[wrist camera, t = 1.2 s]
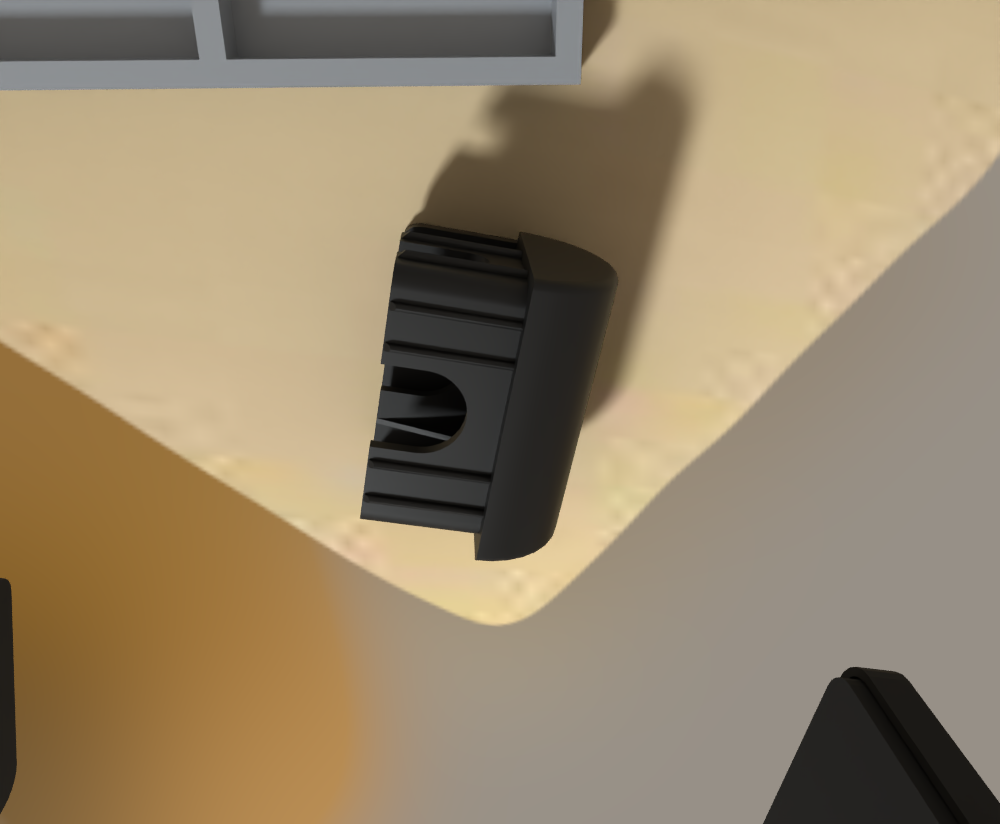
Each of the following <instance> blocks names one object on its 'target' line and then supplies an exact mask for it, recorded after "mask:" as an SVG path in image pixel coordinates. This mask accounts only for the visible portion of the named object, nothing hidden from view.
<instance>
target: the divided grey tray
mask: <svg viewBox="0 0 1000 824" xmlns="http://www.w3.org/2000/svg"><path fill="white" fill-rule="evenodd" d="M582 29H583V0H0V90H78V89H177V88H276V87H376V86H475V85H575V84H581V58H582Z"/></svg>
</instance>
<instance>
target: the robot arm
mask: <svg viewBox="0 0 1000 824" xmlns="http://www.w3.org/2000/svg"><path fill="white" fill-rule="evenodd" d="M16 766H17V759H16V728H15V695H14V663H13V629H12V596H11V585H10V583H9V581H8V580H7V579H4V578H0V813H1V812H2V810H3V808H4V806H5V804H6V802H7V800H8V798H9V795H10V793H11V790H12V787H13V783H14V779H15V775H16ZM763 824H1000V803H999V802H998V800H997V799H996V797H995V796H994V795H993V793H992V792H991V791H990V789H989V788H988V787H987V785H986V784H985V783H984V781H983V780H982V779H981V777H980V776H979V775H978V773H977V772H976V770H975V769H974V768H973V766H972V765H971V764H970V763H969V761H968V760H967V758H966V757H965V756H964V755H963V753H962V752H961V751H960V749H959V748H958V746H957V745H956V744H955V742H954V741H953V740H952V738H951V737H950V735H949V734H948V733H947V732H946V730H945V729H944V728H943V726H942V725H941V723H940V722H939V721H938V719H937V718H936V717H935V715H934V714H933V713H932V711H931V710H930V709H929V707H928V706H927V705H926V703H925V702H924V701H923V699H922V698H921V697H920V695H919V694H918V693H917V692H916V690H915V689H914V687H913V686H912V684H911V683H910V682H909V681H908V680H907V679H906V678H905V677H904V676H903V675H902V674H900V673H897V672H893V671H886V670H878V669H869V668H861V667H850V668H848V669H847V670H846V671H844V672H843V674H842V675H841V677H840V678H834V679H833V680H831V682H830V683H829V685H828V686H827V689H826V691H825V693H824V695H823V697H822V699H821V702H820V704H819V706H818V708H817V710H816V712H815V714H814V716H813V719H812V721H811V723H810V725H809V727H808V729H807V731H806V734H805V735H804V738H803V740H802V742H801V744H800V746H799V748H798V750H797V752H796V755H795V757H794V759H793V761H792V763H791V765H790V767H789V770H788V772H787V774H786V776H785V778H784V780H783V782H782V784H781V787H780V789H779V791H778V793H777V795H776V797H775V799H774V802H773V804H772V806H771V808H770V810H769V812H768V814H767V816H766V819H765V821H764V823H763Z"/></svg>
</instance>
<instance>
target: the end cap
mask: <svg viewBox="0 0 1000 824" xmlns="http://www.w3.org/2000/svg"><path fill="white" fill-rule="evenodd" d="M617 285H618V277H617V273H616V271H615V270H614V269H613V267H612V266H611V265H610V264H608V263H607V262H606V261H604V260H603V259H601V258H600V257H598V256H596V255H594V254H592V253H590V252H588V251H586V250H583V249H581V248H579V247H576V246H573V245H570V244H567V243H564V242H561V241H557V240H554V239H550V238H546V237H542V236H538V235H534V234H529V233H523V232H520V233H519V236H518V240H514V239H509V238H503V237H498V236H492V235H486V234H480V233H475V232H469V231H463V230H457V229H452V228H446V227H440V226H434V225H429V224H423V223H418V224H412V225H411V226H409V227H408V228H406V230H405V232H402V235H401V239H400V245H399V252H397V256H396V260H395V265H394V271H393V278H392V285H391V292H390V299H389V307H388V314H387V322H386V329H385V337H384V344H383V351H382V359H381V364H385V367H384V374H383V382H382V386H381V391H380V399H379V406H378V413H377V421H376V428H375V435H374V441H373V440H371V442H370V448H369V455H368V463H367V470H366V478H365V485H364V493H363V500H362V507H361V515H360V519H367V520H375V521H382V522H390V523H398V524H406V525H414V526H422V527H430V528H437V529H445V530H453V531H461V532H469V533H474V544H475V560H482V561H502V560H511V559H516V558H520V557H524V556H526V555H529V554H531V553H534V552H536V551H537V550H539V549H540V548H542V547H543V546H545V545H546V543H547V542H548V541H549V540H550V539H551V537H552V536H553V533H554V530H555V527H556V524H557V520H558V516H559V512H560V508H561V504H562V500H563V497H564V493H565V489H566V485H567V481H568V477H569V473H570V469H571V465H572V461H573V457H574V453H575V450H576V446H577V442H578V438H579V434H580V430H581V426H582V422H583V418H584V414H585V410H586V407H587V403H588V399H589V395H590V391H591V387H592V383H593V379H594V375H595V371H596V367H597V363H598V360H599V356H600V352H601V348H602V344H603V340H604V336H605V332H606V328H607V324H608V320H609V316H610V313H611V309H612V305H613V301H614V297H615V293H616V289H617Z"/></svg>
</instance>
